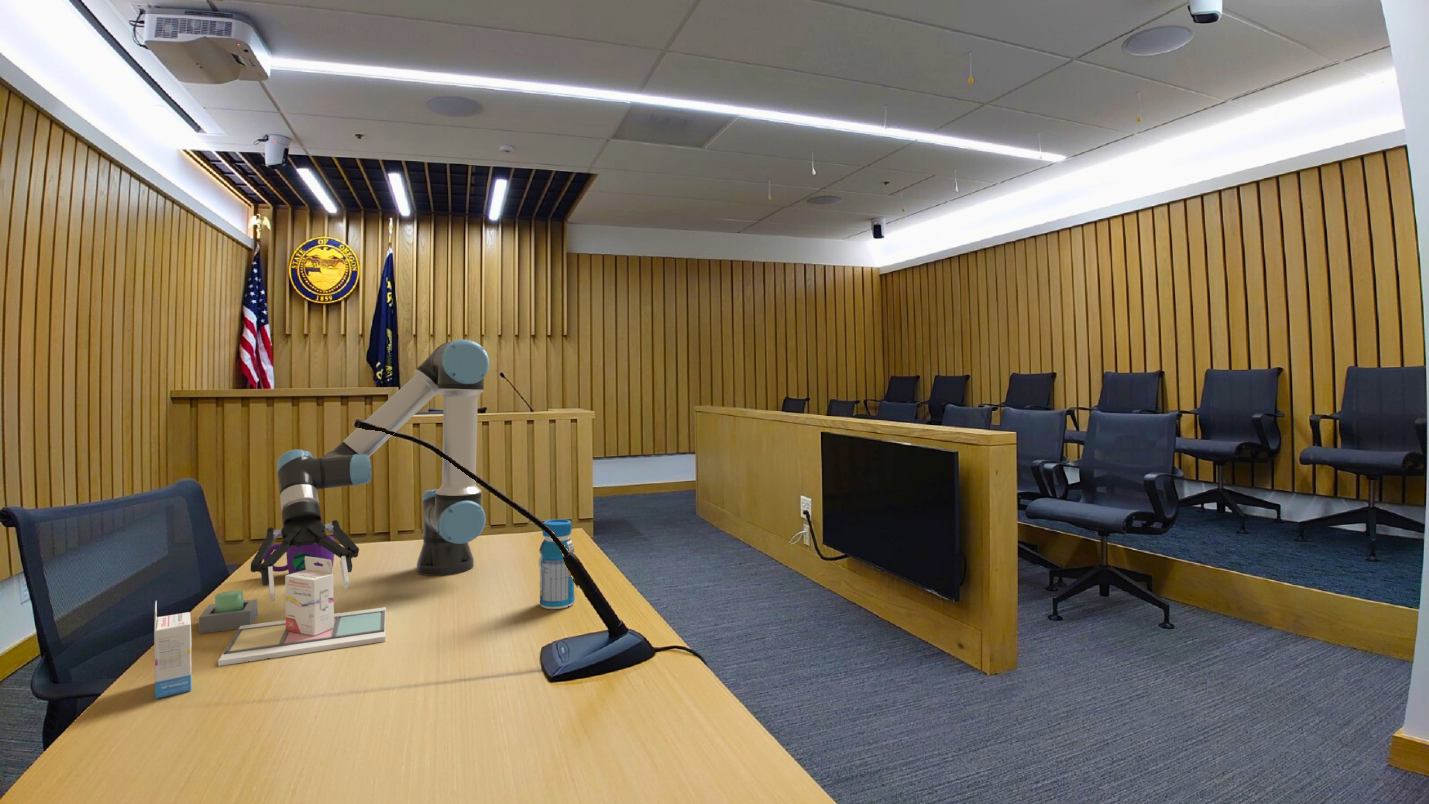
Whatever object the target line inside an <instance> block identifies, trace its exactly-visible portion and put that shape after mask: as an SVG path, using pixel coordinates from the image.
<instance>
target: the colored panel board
mask: <svg viewBox="0 0 1429 804" xmlns="http://www.w3.org/2000/svg"><path fill="white" fill-rule="evenodd" d="M386 622H387V607H384V606H383V607H375V608H370V609H362V610H361V609H360V610H353V611H346V612H338V613H334V628H333V629H330V630H328V631H325V632H322V633H320V634H317V635H315V636H312V635H307V634H302V633H298V632H293V631H288V630H286V619H283V620H276V621H269V622H262V623H252V624H251V625H243V626H240V627H239V629H237V631H236V632H235V633H234V635H233V637H232V638H231V640H230V641H229V644H228V645H227V646H226V648H225V649H224V651H223V652H222V653H221V656H220V657H219V659H218V661H217V665H218V667H222V666H227V665H235V664H242V663H248V661H249V662H257V661H262V660H268V659H267V658H270V659H275V658H282V657H289V656H295V655H301V654H302V655H303V654H308V653H310V654H311V653H315V652H322V651H329V650H335V649H336V650H337V649H343V648H349V647H356V646H357V647H358V646H364V645H370V644H375V643H376V644H377V643H383V642H386V632H387V630H386V629H387V628H386V627H387V626H386V625H387V623H386Z"/></svg>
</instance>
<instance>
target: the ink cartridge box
mask: <svg viewBox="0 0 1429 804" xmlns="http://www.w3.org/2000/svg"><path fill="white" fill-rule="evenodd" d="M317 562H319V563H320V564H323V567H322V566H316V565H314V563H317ZM305 567H306V570H303V571H299V572H296V573H292V574H289V573H288V574H286V575H285V577H284V578H285V579H284V580H285V581H284V582H285V583H284V585H285V587H284V588H285V591H284V592H285V594H284V595H285V620H286V630H288V631H293V632H298V633H302V634H307V635H312V636H315V635H317V634H320V633H322V632H325V631H328V630H330V629H333V628H334V614H335V609H334V608H335V607H334V601H335V600H334V573H333V572H334V571H333V568H332V561H331V560H328V559H322V558H315V557H308V556H305Z"/></svg>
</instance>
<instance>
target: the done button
mask: <svg viewBox="0 0 1429 804" xmlns="http://www.w3.org/2000/svg"><path fill="white" fill-rule="evenodd" d="M243 601H244V591H243V590H227V591H223V592H220V593H217V594H215V595H214V604H215V613H223V612H231V611H239V610H243Z"/></svg>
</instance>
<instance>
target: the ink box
mask: <svg viewBox="0 0 1429 804" xmlns="http://www.w3.org/2000/svg"><path fill="white" fill-rule="evenodd" d="M154 602H155V603H154V626H153V627H154V628H153V629H154V631H153V633H154V634H153V635H154V636H153V637H154V641H153V643H154V645H153V647H154V651H153V653H154V656H153V657H154V689H155V690H154V691H155V692H154V695H155V696H154V697H155V699H156V700H157V699H161V698H165V697H169V696H174V695H178V694H183V693H186V692H191V691H192V620H191V612H189V611H187V612H182V613H175V614H170V615H163V616H157V615H158V614H157V613H158V609H157V608H158V607H157V605H158V604H157V600H155V601H154Z"/></svg>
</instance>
